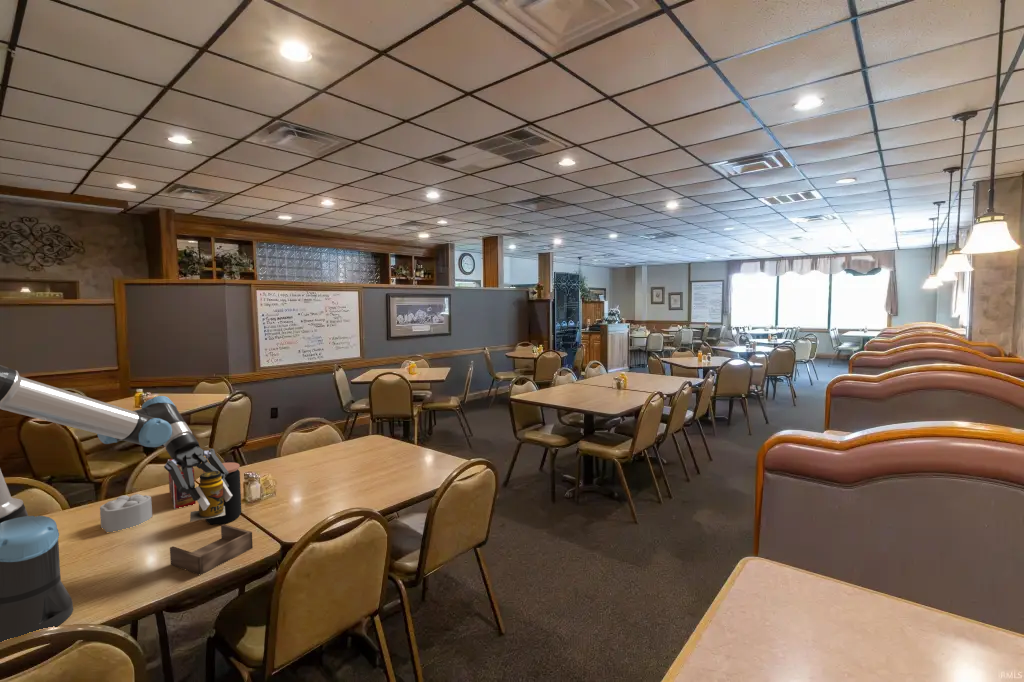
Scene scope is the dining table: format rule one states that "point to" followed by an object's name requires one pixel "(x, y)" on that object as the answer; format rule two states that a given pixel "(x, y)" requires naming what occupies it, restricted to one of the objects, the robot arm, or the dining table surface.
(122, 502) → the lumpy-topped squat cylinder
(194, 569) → the caddy
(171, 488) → the ice cream box
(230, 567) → the dining table surface
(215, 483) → the condiment
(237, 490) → the coffee jar
